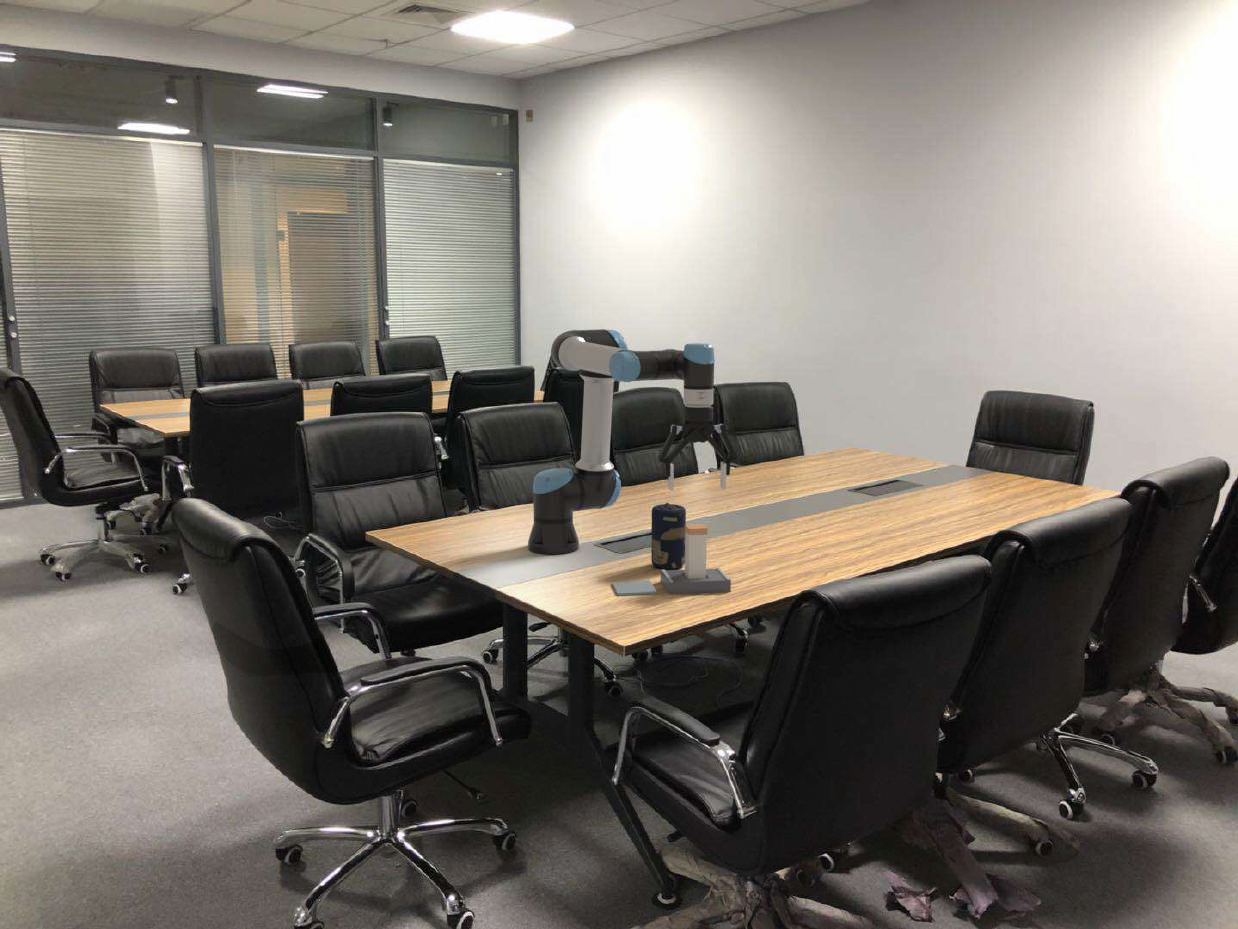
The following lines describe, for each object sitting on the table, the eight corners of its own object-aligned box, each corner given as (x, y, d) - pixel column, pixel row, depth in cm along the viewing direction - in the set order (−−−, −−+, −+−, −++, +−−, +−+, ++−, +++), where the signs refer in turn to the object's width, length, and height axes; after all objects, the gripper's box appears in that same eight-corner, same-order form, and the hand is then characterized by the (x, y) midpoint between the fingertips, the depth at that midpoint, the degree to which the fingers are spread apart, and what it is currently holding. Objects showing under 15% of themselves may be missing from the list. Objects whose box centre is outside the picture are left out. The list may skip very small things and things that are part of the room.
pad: (617, 595, 243) (617, 593, 243) (612, 584, 253) (612, 582, 253) (657, 594, 245) (657, 591, 245) (649, 582, 255) (649, 580, 254)
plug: (688, 589, 249) (689, 528, 246) (684, 584, 253) (684, 524, 251) (706, 588, 249) (707, 528, 247) (701, 583, 254) (703, 524, 251)
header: (669, 594, 245) (669, 581, 244) (660, 581, 255) (660, 569, 255) (730, 591, 247) (730, 579, 247) (719, 579, 258) (720, 567, 257)
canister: (683, 561, 275) (684, 499, 272) (687, 570, 266) (688, 506, 263) (650, 561, 275) (650, 499, 272) (652, 571, 266) (652, 506, 262)
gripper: (652, 407, 238) (651, 492, 241) (750, 406, 242) (748, 490, 245) (646, 404, 245) (646, 487, 249) (742, 403, 249) (740, 484, 252)
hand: (697, 488), depth 247 cm, fingers open, 13 cm apart
